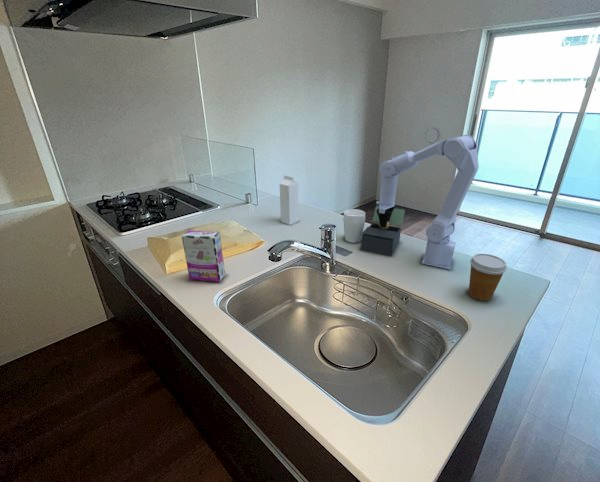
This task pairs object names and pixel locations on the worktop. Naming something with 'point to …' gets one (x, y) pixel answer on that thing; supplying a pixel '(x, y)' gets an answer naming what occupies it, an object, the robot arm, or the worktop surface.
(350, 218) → the cup
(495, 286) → the disposable coffee cup
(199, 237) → the candy bar box
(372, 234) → the bin
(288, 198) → the milk
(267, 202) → the worktop surface
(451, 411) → the worktop surface
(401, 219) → the bin flap
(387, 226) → the paper ball
